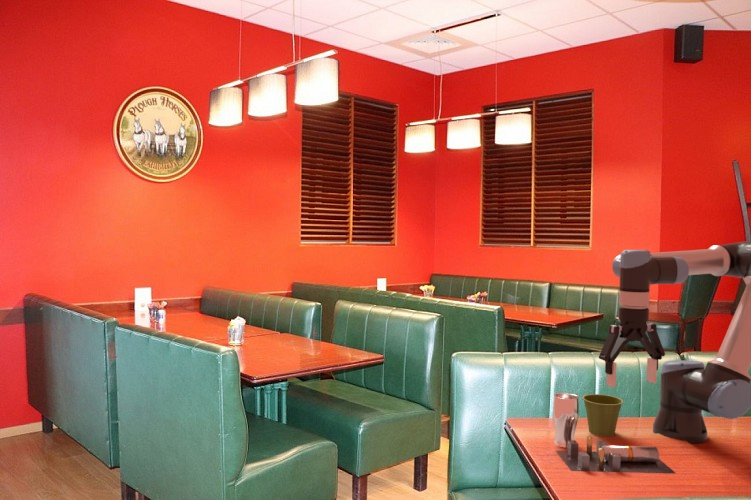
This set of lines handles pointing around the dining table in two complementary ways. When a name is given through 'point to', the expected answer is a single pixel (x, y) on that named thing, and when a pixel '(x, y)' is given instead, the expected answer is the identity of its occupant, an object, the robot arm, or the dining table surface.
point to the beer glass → (565, 418)
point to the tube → (632, 453)
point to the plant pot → (602, 413)
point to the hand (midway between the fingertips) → (631, 384)
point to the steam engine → (597, 464)
